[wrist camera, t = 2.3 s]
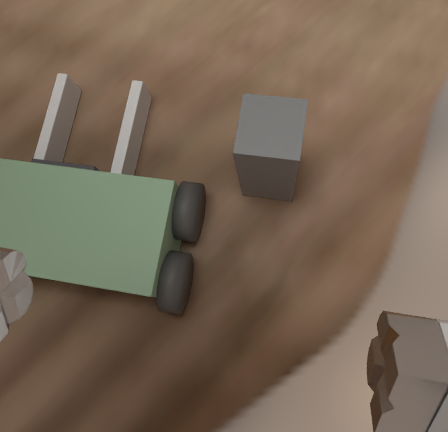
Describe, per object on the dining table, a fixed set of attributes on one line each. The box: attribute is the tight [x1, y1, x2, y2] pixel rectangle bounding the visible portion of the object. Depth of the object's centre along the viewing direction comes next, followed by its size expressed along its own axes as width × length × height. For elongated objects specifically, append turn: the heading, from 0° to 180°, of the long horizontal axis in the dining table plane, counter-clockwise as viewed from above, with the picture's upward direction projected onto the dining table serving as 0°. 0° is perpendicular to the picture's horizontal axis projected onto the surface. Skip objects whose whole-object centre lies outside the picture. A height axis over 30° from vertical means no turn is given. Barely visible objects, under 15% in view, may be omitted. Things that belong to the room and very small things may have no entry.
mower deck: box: [0, 73, 205, 315], centre depth 36 cm, size 23×20×6 cm
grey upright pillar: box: [233, 93, 308, 202], centre depth 33 cm, size 4×4×10 cm
